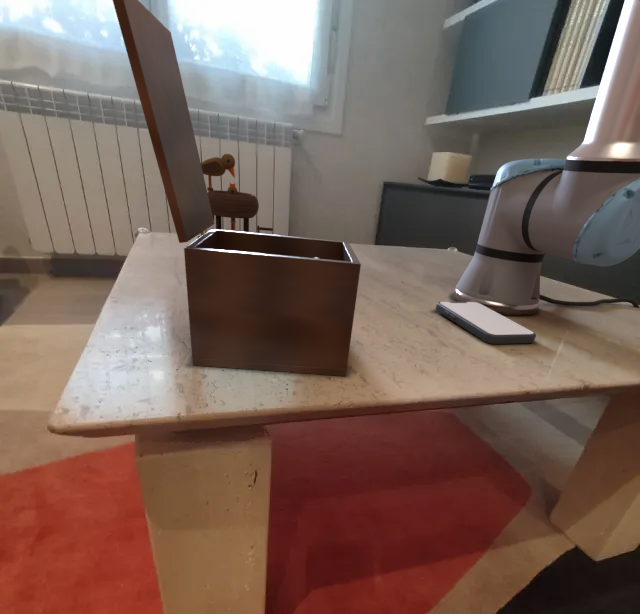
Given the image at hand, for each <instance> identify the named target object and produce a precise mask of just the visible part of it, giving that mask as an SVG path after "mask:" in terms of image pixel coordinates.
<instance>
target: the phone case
mask: <svg viewBox="0 0 640 614" xmlns="http://www.w3.org/2000/svg"><path fill="white" fill-rule="evenodd" d="M435 310H436V311H437V312H438V313H440V314H441V315H442V316H444V317H446V318H447V319H449V320H451V321H452V322H454V323H455V324H457V325H458V326H460V327H461V328H462V329H464V330H466V331H467V332H469V333H471V334H472V335H473V336H475V337H476V338H478V339H480V340H481V341H483V342H485V343H486V344H490V345H513V344H515V345H517V344H518V345H520V344H521V345H522V344H533V343H534V342H535V340H536V337H537V334H536V332H534V331H532V330H530V329H529V328H527V327H525V326H523V325H521V324H519V323H517V322H515V321H514V320H512V319H510V318H508V317H507V316H505V315H503V314H500V313H497V312H495V311H493V310H491V309H489V308H487V307H486V306H484V305H482V304H480V303H477V302H458V301H437V303H436V305H435Z"/></svg>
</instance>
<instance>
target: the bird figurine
mask: <svg viewBox="0 0 640 614" xmlns="http://www.w3.org/2000/svg"><path fill="white" fill-rule="evenodd" d="M235 165H236V159H235V157H234V156H233V155H232V154H230V153H224V154H223V155H222V156H221V157H219V156H214V157H210V158H207V159H205V160H203V161H201V167H202V171H203V175H204V176H207V178H208V179H207V180H208V187H207V186H206V189H207V193H208V197H209V202H210V206H211V210H212V215H213V219H214V220H215V229H218V230H223V229H222V226H223V225H222V218H229V219H230V221H229V222H230V231H236V223H237V220H236V219H243V223H242V224H243V225H242V226H243V229H242V230H243V232H250V219H253V218H254V217H255V216H256V215H257V214H258V212H259V209H260V206H259V205H260V204H259V199H258V198H257V197H256V195H255V194H253V193H249V192H241V191H238V189H237V187H236V182H234V183H231V182H229V187H228V188H227V190H221V189H220V190H219V189H218V190H215V189H214V188H213V185H212V177H221V176H223V175H224V174H225V173H226V170H227V171H228V172H229V173H230V174H231V176H232V177H233V178H236V174H235V173H236V172H235ZM211 229H214V228H213V227H212V228H211ZM256 230H257V231H256V233H261V232H260V231H268V232H273V231H274V228H273V227H265V226H264V227H262V226H260V225H257V226H256ZM204 234H205V233H204V231H203V232H202V233H200V235H197V236H196V237H197V238H196V240H197V239H198V238H200V237H201V236H202V235H204Z"/></svg>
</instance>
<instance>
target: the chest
mask: <svg viewBox="0 0 640 614" xmlns="http://www.w3.org/2000/svg"><path fill="white" fill-rule="evenodd" d="M200 236H201V235H200ZM183 253H184V267H185V281H186V294H187V306H188V308H187V309H188V321H189V335H190V348H191V349H190V350H191V363H192V366H199V367H209V368H211V367H212V368H227V369H238V370H251V371H252V370H253V371H268V372H282V373H296V374H311V375H323V376H324V375H325V376H335V377H336V376H337V377H338V376H339V377H346V376H347V370H348V363H349V356H350V348H351V347H350V346H351V340H352V333H353V325H354V317H355V312H356V311H355V310H356V302H357V298H358V297H357V295H358V288H359V282H360V274H361V266H362V263H361V262H360V260H359V258H358V256H357V255H356V254H355V251H354V250H353V248H352V246H351V244H350V241H343V240H333V239H323V238H322V239H321V238H314V237H313V238H312V237H302V236H290V235H279V234H269V233H261V232H260V233H257V232H250V231H249V232H244V231H239V230H235V231H231V230H228V229H222V230H218V229H216V228H213V229H212V228H211V229H210V230H208V231H207V232H206V233H204V235H202V236H201V237H200V238H198V239H197V238H196V239H195V240H194V241H192V242H191V243H189V244H188V245H185V246H184V247H183ZM315 257H317V258H319V259H317V258H315Z"/></svg>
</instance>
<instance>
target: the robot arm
mask: <svg viewBox="0 0 640 614" xmlns="http://www.w3.org/2000/svg"><path fill="white" fill-rule="evenodd" d="M588 121H589V122H588V125H587V128H586V131H585V135H584V138H583V141H582V142H581V144H580V145H579V146H578V147H577V148H575V149H574V150H573V151H572V152H571V153H570V154H568V155H567V156H566V159H564V158H549V157H547V158H525V159H518V160H517V159H516V160H512V161H509V162H506V163H504V164H503V165H501V166H500V167H499V169H498V170H497V172H496V175H495V178H494V180H493V183H492V186H491V187H490V190H489V195H488V200H487V203H486V207H485V211H484V215H483V219H482V223H481V227H480V231H479V236H478V239H477V244H476V246H475V251H474V253H473V254H474V255H473V256H472V259H471V260H470V262H469V264H468V266H467V267H466V269H465V270H464V272H463V274H462V276H461V277H460V279H459V280H458V282H457V284H456V286H455V289H454V292H453V299H454V300H455V301H456V302H477V303H480V304H482V305H484V306H486V307H487V308H489V309H491V310H493V311H495V312H497V313H499V314H501V315H507V316H508V315H510V316H528V315H533V314H535V313H536V312H537V309H538V307H539V304H540V300H541V301H543V302H546V303H548V304H552V305H557V306H566V307H595V306H599V305H602V304H616V303H629V304H631V305H632V306H633V308H636V309H639V308H640V305H639V303H638V301H637V300H635V299H634V298H630V297H616V298H604V299H603V298H602V299H597V300H595V301H567V300H560V299H555V298H551V297H548V296H546V295H543V294H540V293H541V267H542V263H543V261H544V258H545V254H547V255H551V256H556V257H558V258H562V259H567V260H569V261H573V262H575V263H577V264H580V265H592V266H597V267H611V266H614V265H618V264H620V263H622V262H624V261H626V260H628V259H629V258H630V257H632V256H633V255H634V254H636V253H637V251H638V250H640V0H624V2H623V5H622V9H621V12H620V15H619V18H618V22H617V26H616V29H615V32H614V36H613V39H612V42H611V46H610V49H609V52H608V56H607V59H606V63H605V67H604V70H603V73H602V77H601V80H600V83H599V87H598V91H597V93H596V98H595V101H594V104H593V107H592V111H591V114H590V118H589V120H588Z"/></svg>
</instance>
